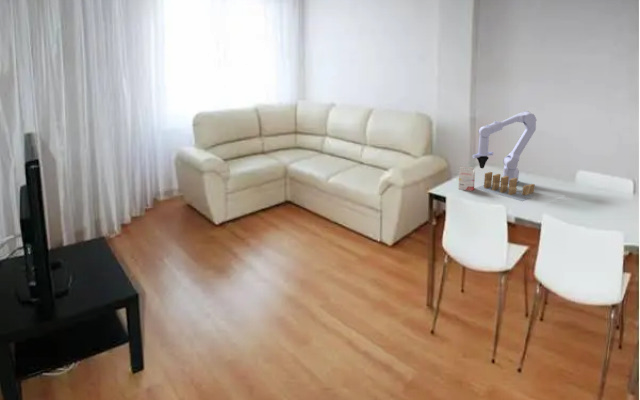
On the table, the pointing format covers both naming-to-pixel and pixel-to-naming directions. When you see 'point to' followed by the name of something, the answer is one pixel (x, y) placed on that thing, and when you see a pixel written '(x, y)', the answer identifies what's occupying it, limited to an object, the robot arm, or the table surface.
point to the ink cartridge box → (466, 178)
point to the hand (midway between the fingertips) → (481, 168)
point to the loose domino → (528, 189)
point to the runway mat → (506, 193)
